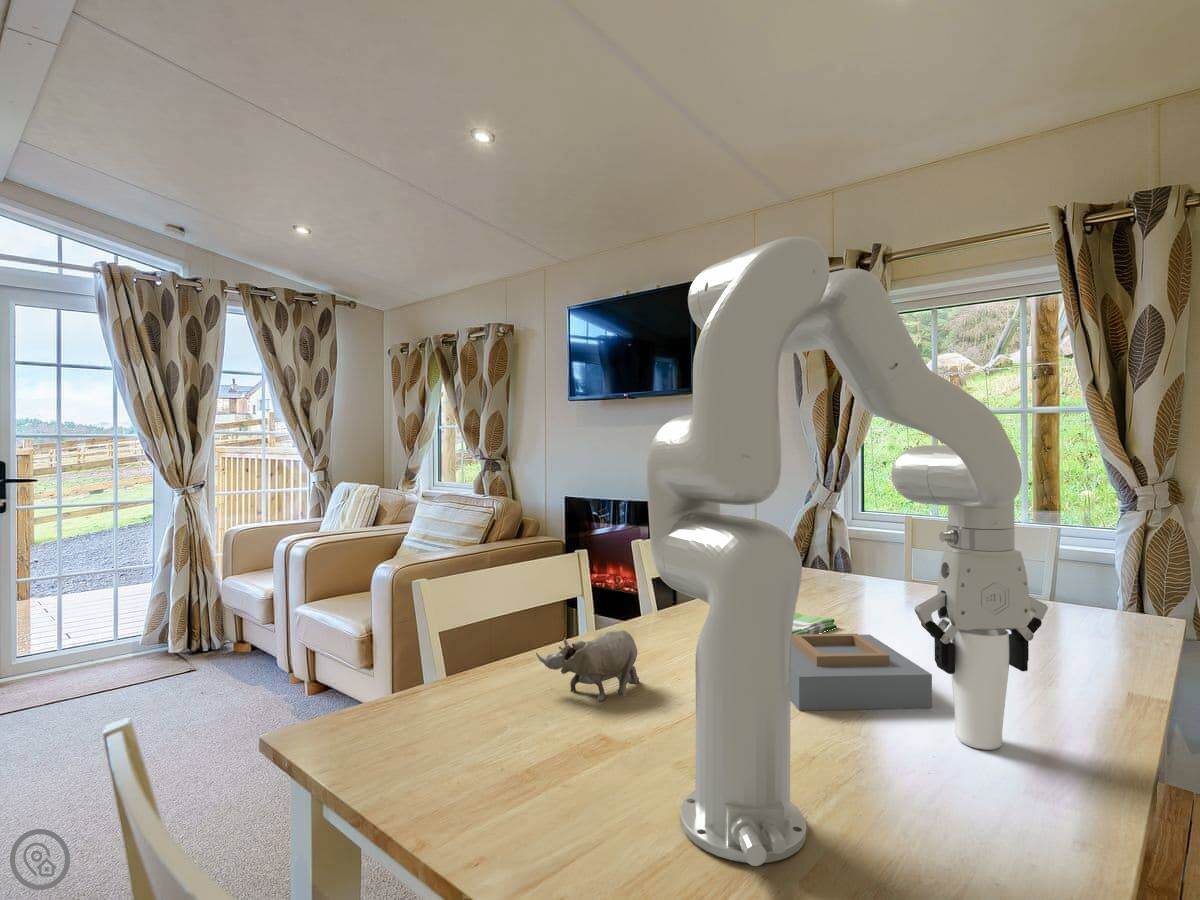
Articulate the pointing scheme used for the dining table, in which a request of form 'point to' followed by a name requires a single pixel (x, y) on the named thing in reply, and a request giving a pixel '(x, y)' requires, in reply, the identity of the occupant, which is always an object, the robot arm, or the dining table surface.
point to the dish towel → (811, 624)
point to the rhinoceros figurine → (598, 661)
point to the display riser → (854, 674)
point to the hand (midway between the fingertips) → (981, 669)
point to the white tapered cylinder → (980, 686)
